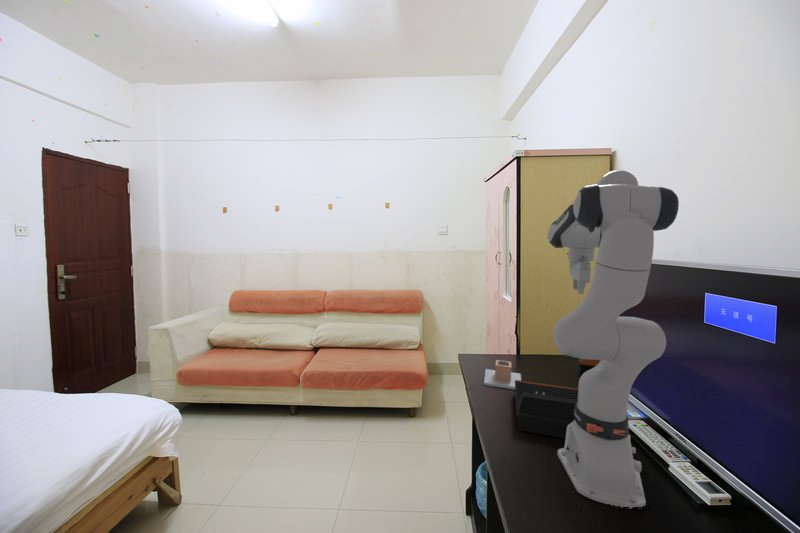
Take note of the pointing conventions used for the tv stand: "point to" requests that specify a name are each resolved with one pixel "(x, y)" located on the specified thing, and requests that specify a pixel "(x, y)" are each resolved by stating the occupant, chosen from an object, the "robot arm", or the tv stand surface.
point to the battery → (586, 365)
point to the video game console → (544, 407)
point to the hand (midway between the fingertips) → (578, 291)
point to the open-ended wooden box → (503, 371)
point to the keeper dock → (491, 381)
